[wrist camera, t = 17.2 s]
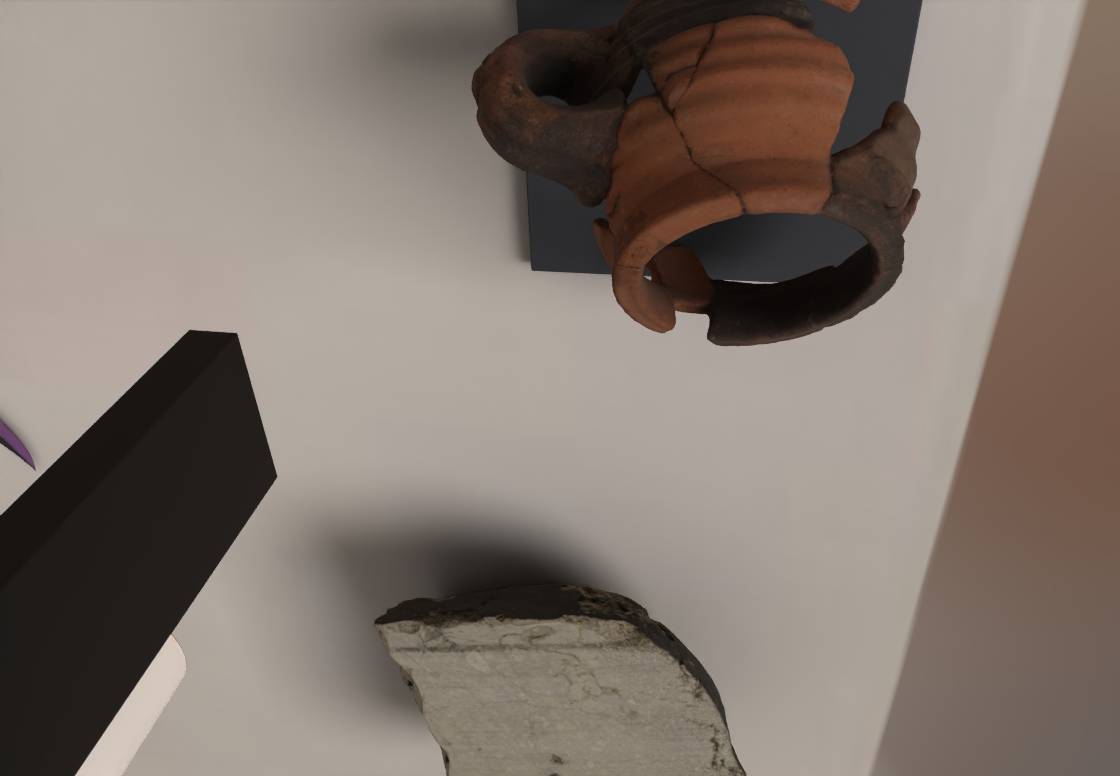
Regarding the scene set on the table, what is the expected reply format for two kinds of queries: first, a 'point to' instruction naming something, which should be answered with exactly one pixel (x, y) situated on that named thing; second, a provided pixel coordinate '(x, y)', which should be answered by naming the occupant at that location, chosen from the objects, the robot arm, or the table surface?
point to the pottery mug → (707, 153)
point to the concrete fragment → (557, 685)
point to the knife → (14, 445)
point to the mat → (750, 239)
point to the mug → (137, 714)
